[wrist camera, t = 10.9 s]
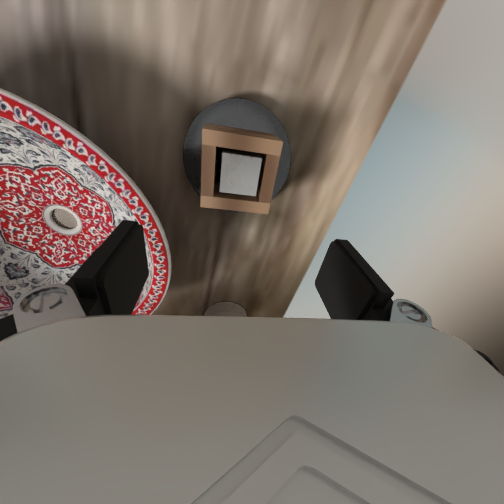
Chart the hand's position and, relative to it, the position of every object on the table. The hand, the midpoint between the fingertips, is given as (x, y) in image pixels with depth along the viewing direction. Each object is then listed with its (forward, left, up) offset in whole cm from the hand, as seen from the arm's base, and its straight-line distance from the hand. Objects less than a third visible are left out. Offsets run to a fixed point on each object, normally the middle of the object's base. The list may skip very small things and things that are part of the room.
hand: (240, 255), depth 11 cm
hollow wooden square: (+1, 0, -17) cm, 17 cm away
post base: (+1, 0, -19) cm, 19 cm away
